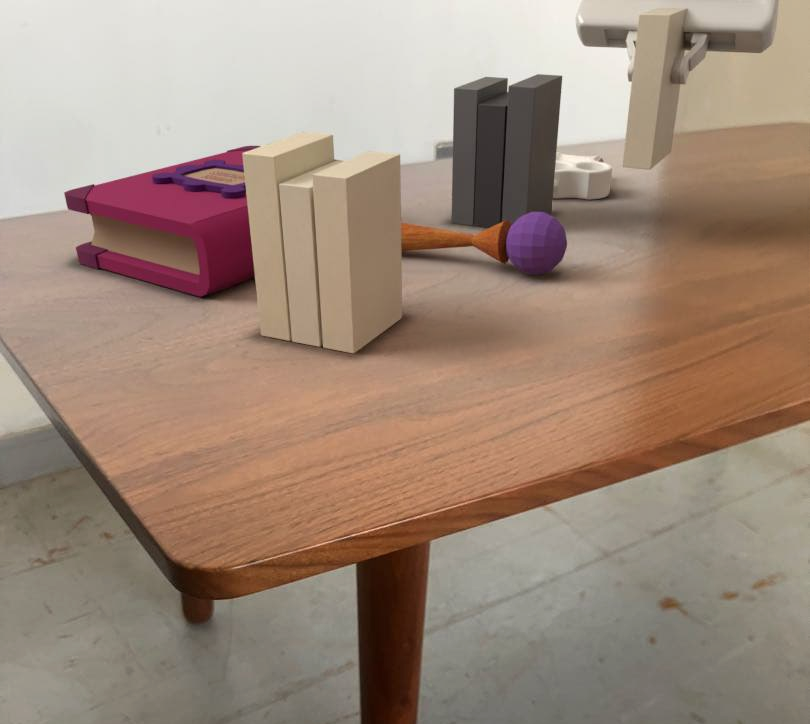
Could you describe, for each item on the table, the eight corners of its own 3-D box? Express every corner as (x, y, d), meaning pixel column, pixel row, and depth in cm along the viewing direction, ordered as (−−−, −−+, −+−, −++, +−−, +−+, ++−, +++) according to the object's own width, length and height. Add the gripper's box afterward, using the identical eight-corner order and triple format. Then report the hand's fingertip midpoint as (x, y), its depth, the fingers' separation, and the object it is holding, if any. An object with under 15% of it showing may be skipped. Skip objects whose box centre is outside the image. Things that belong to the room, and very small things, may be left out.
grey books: (551, 212, 111) (562, 75, 103) (525, 232, 105) (535, 87, 96) (480, 204, 115) (485, 70, 106) (451, 222, 108) (453, 82, 99)
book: (389, 231, 105) (388, 161, 101) (211, 301, 87) (200, 220, 83) (256, 203, 116) (250, 139, 111) (72, 261, 97) (56, 187, 93)
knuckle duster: (625, 180, 124) (596, 207, 113) (499, 168, 130) (461, 192, 119) (628, 153, 122) (599, 178, 111) (500, 143, 128) (461, 165, 117)
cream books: (402, 317, 83) (400, 140, 75) (353, 353, 76) (345, 164, 68) (314, 302, 87) (302, 131, 78) (260, 335, 80) (241, 152, 71)
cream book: (671, 152, 102) (691, 6, 94) (650, 169, 95) (670, 14, 87) (644, 150, 103) (661, 6, 95) (622, 167, 96) (639, 14, 88)
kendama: (398, 205, 100) (576, 211, 91) (398, 262, 102) (572, 273, 94) (372, 208, 95) (557, 214, 86) (372, 267, 97) (553, 279, 89)
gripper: (591, -63, 97) (553, 53, 95) (795, -64, 89) (758, 62, 87) (599, -16, 103) (564, 94, 101) (792, -14, 95) (757, 105, 93)
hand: (656, 79), depth 94 cm, fingers closed on cream book, 3 cm apart
